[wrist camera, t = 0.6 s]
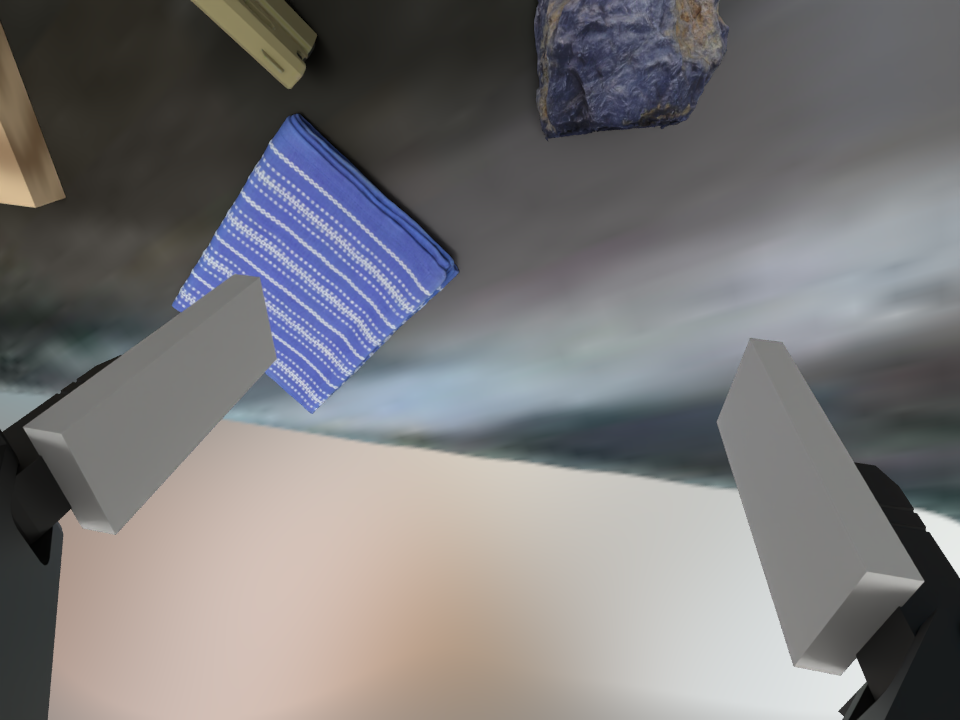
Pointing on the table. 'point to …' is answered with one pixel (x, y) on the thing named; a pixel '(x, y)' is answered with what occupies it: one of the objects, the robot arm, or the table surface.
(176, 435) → the robot arm
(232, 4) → the handgun
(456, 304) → the table surface
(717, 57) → the rock
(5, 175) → the board
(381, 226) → the dish towel
